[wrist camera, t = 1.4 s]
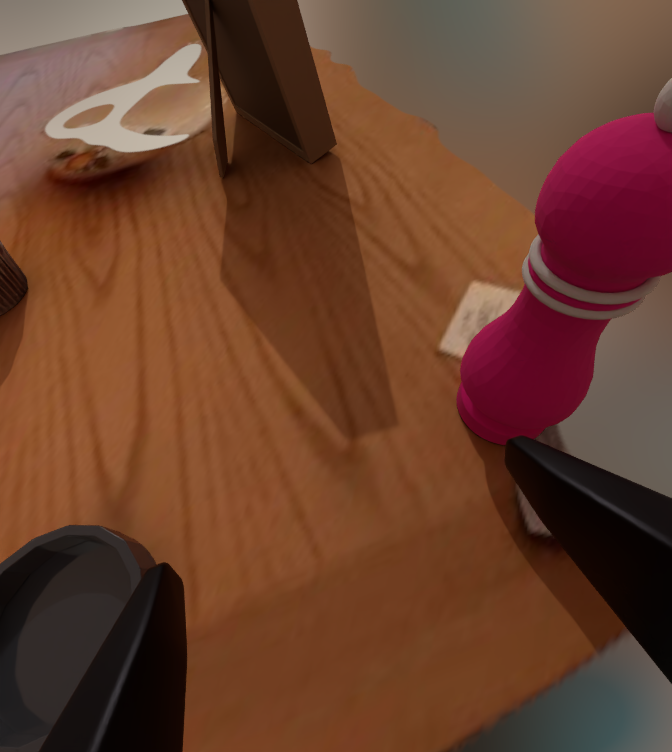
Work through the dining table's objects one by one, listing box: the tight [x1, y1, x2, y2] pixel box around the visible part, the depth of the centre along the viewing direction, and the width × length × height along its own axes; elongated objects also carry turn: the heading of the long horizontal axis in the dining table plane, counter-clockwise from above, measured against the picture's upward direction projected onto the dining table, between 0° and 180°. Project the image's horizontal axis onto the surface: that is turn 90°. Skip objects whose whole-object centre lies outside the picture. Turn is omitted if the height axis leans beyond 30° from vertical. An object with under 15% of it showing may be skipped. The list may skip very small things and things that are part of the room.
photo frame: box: [182, 0, 337, 178], centre depth 41 cm, size 15×22×25 cm
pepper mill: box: [457, 78, 672, 445], centre depth 18 cm, size 7×7×20 cm
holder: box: [0, 525, 156, 752], centre depth 20 cm, size 10×10×2 cm
